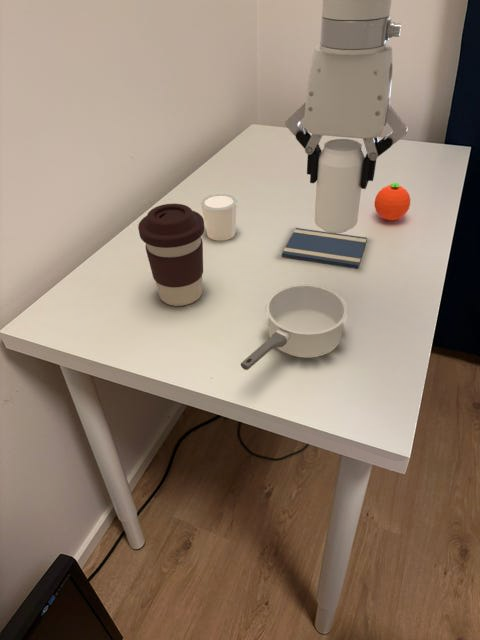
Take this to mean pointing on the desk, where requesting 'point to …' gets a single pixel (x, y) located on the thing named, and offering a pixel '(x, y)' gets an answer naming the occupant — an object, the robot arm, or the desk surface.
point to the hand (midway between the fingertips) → (339, 181)
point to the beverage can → (339, 185)
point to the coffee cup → (174, 251)
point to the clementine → (392, 202)
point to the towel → (325, 248)
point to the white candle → (220, 216)
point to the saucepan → (302, 322)
